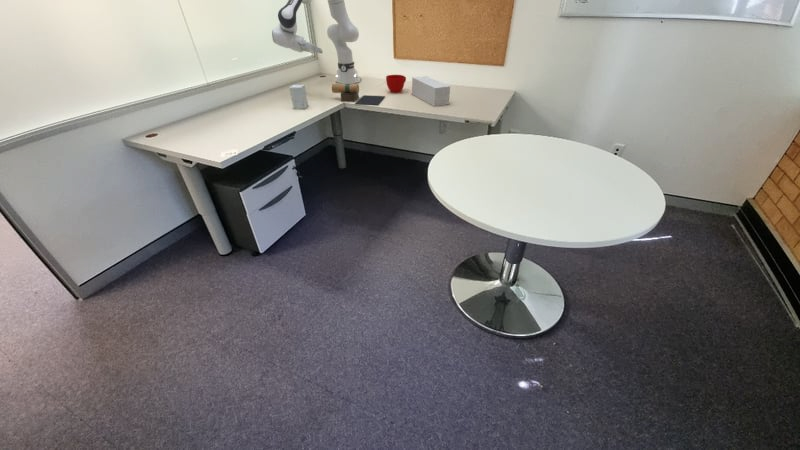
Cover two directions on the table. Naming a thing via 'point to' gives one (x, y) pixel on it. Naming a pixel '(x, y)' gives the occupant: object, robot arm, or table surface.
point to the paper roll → (345, 88)
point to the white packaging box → (298, 96)
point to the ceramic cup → (395, 82)
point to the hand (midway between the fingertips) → (321, 51)
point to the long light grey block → (431, 90)
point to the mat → (370, 100)
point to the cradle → (349, 97)
